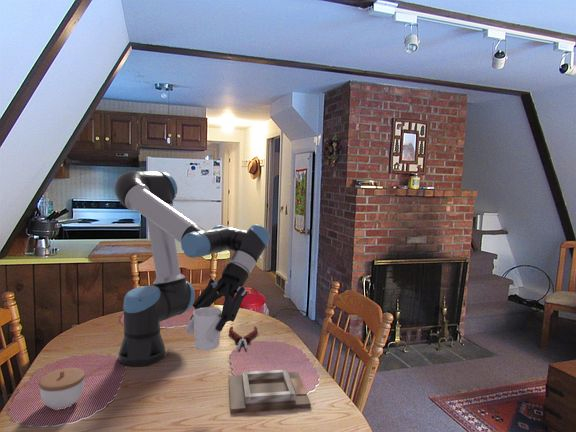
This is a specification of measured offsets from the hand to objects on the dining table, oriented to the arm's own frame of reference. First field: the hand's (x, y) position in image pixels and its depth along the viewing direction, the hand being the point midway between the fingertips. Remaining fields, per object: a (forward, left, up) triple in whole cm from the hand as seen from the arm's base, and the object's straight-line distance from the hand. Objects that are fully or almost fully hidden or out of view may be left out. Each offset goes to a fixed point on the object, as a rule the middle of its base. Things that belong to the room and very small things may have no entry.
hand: (198, 336), depth 112 cm
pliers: (+14, +41, -19) cm, 47 cm away
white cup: (+2, +2, -4) cm, 5 cm away
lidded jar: (-36, +2, -19) cm, 41 cm away
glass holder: (+20, +1, -19) cm, 27 cm away
